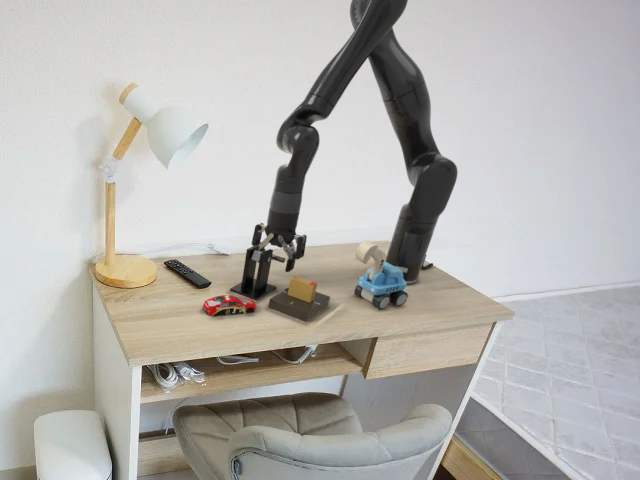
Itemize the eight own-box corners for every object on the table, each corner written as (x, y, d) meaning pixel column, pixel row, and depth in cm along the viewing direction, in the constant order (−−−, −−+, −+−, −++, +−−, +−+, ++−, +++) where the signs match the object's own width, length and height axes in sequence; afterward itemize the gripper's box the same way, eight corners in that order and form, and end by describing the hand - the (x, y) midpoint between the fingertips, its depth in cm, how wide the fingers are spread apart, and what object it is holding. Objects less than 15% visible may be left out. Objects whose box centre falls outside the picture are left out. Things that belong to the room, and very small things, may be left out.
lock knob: (287, 294, 127) (291, 277, 124) (291, 292, 128) (295, 275, 126) (309, 302, 123) (313, 285, 121) (313, 300, 125) (317, 282, 122)
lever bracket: (250, 281, 140) (256, 240, 134) (276, 290, 136) (284, 248, 130) (229, 292, 134) (235, 250, 128) (255, 302, 130) (263, 259, 123)
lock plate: (291, 294, 134) (293, 283, 132) (328, 307, 128) (331, 296, 127) (267, 309, 127) (269, 297, 125) (305, 324, 121) (308, 312, 119)
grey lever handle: (267, 259, 140) (270, 251, 139) (283, 265, 137) (286, 256, 136) (246, 257, 130) (249, 248, 130) (263, 263, 128) (266, 254, 127)
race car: (249, 304, 129) (252, 290, 127) (258, 314, 124) (261, 300, 122) (200, 308, 126) (201, 294, 124) (207, 319, 122) (209, 304, 120)
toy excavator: (331, 300, 132) (348, 236, 123) (382, 291, 137) (401, 229, 128) (355, 315, 125) (374, 249, 116) (407, 305, 130) (429, 241, 121)
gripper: (317, 211, 128) (304, 270, 137) (267, 198, 136) (258, 255, 145) (303, 217, 123) (290, 278, 132) (252, 204, 132) (243, 262, 140)
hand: (273, 266), depth 138 cm, fingers open, 8 cm apart
